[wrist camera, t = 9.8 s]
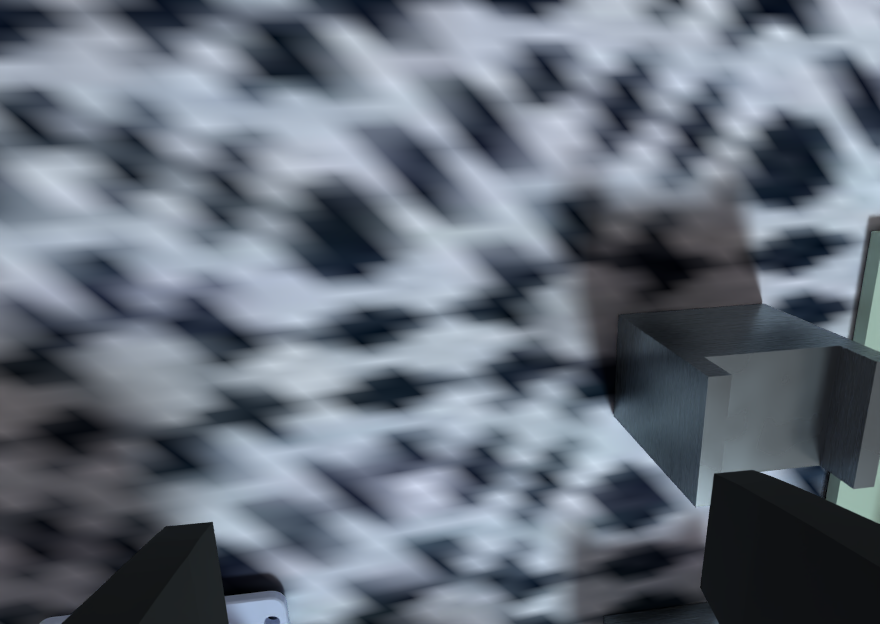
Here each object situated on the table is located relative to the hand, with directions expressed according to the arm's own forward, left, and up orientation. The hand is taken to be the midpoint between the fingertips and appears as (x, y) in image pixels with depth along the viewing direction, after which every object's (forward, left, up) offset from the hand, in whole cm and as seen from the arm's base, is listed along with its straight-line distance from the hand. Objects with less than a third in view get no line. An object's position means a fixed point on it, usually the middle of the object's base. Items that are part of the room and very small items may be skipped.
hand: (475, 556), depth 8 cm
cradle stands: (-8, -9, -10) cm, 16 cm away
